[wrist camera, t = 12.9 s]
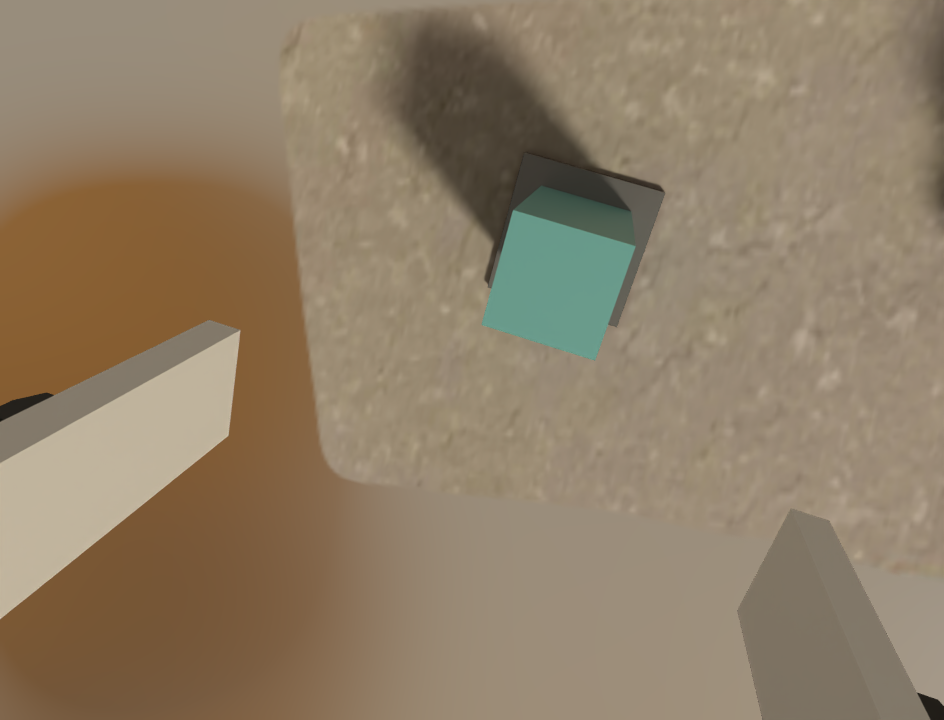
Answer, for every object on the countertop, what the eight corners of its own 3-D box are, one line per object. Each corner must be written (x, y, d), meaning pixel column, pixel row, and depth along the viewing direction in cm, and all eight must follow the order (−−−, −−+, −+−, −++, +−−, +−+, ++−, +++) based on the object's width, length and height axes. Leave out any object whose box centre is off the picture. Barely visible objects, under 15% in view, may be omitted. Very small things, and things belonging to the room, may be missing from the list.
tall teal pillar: (631, 211, 36) (635, 246, 27) (601, 298, 38) (595, 360, 29) (541, 185, 37) (512, 209, 27) (516, 272, 39) (481, 324, 29)
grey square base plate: (664, 192, 36) (675, 209, 29) (616, 325, 39) (616, 368, 32) (525, 152, 37) (503, 159, 30) (488, 285, 40) (462, 320, 33)
